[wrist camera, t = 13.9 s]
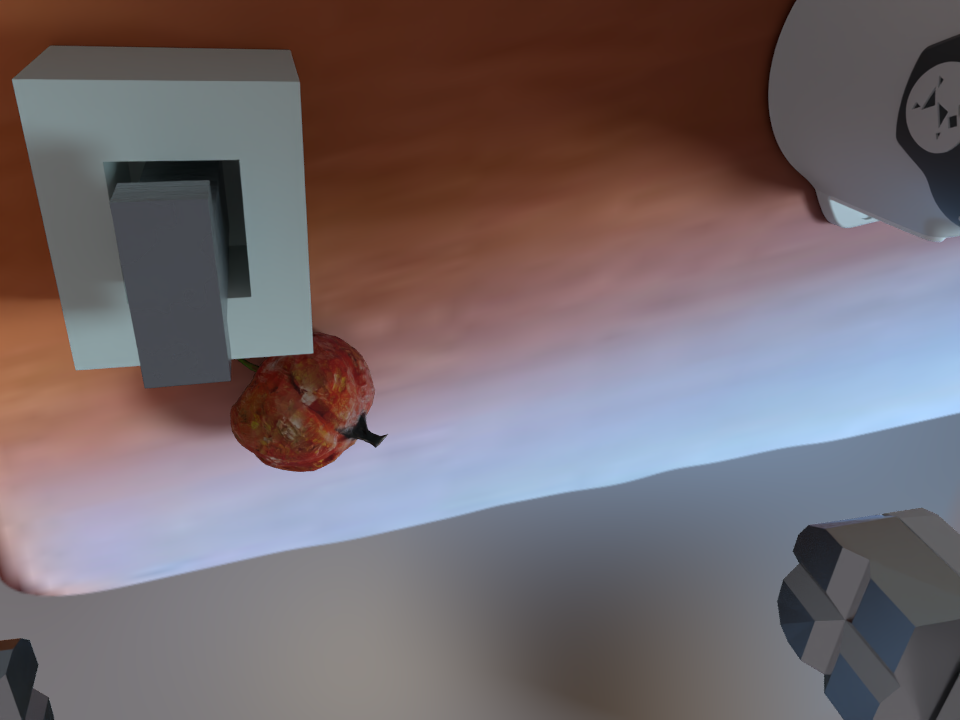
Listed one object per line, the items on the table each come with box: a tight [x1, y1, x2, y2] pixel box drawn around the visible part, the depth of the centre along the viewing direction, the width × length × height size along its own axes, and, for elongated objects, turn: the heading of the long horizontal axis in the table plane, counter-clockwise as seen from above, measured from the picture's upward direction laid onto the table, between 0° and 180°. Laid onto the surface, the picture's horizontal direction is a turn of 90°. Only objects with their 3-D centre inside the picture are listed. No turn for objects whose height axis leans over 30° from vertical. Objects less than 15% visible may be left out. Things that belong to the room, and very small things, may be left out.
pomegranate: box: [230, 333, 388, 472], centre depth 43 cm, size 7×7×10 cm
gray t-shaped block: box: [109, 160, 231, 388], centre depth 33 cm, size 3×7×12 cm, turn 178°
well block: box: [12, 46, 313, 370], centre depth 36 cm, size 10×12×7 cm
